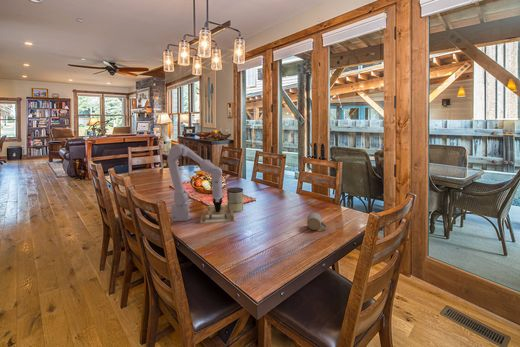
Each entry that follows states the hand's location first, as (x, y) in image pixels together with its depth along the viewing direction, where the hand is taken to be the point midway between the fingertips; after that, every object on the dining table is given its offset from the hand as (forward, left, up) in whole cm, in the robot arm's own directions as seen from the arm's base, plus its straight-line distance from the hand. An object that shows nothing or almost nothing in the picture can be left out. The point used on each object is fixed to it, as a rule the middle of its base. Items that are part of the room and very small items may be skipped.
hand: (217, 210), depth 172 cm
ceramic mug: (+53, -23, -5) cm, 58 cm away
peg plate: (0, 0, -5) cm, 5 cm away
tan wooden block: (0, 0, -2) cm, 2 cm away
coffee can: (+11, +15, -5) cm, 19 cm away
